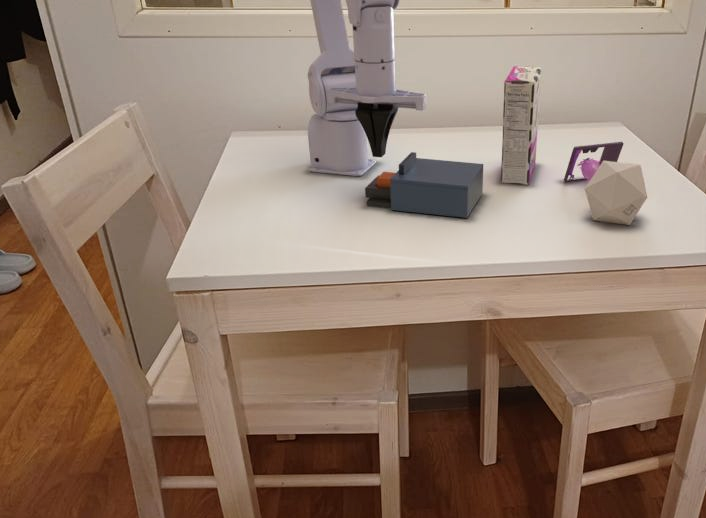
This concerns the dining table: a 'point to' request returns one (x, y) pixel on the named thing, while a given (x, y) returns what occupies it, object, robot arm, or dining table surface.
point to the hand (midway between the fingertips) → (379, 155)
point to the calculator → (378, 195)
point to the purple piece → (591, 165)
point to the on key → (384, 179)
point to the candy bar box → (520, 124)
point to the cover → (436, 186)
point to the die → (616, 192)
